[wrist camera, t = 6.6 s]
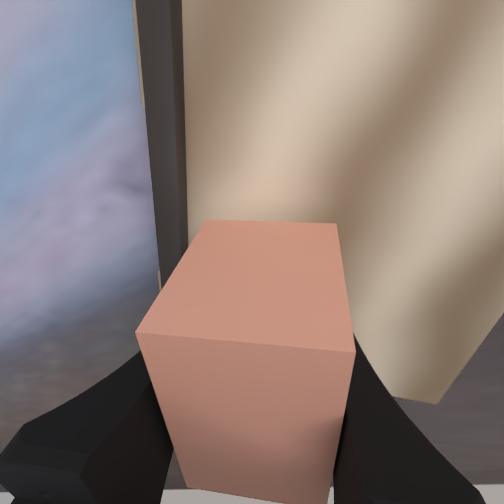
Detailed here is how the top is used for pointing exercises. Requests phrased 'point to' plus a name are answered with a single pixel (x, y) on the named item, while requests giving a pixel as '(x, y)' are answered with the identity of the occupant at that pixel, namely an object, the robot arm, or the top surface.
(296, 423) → the carton
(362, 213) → the shelf board
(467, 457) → the top surface
